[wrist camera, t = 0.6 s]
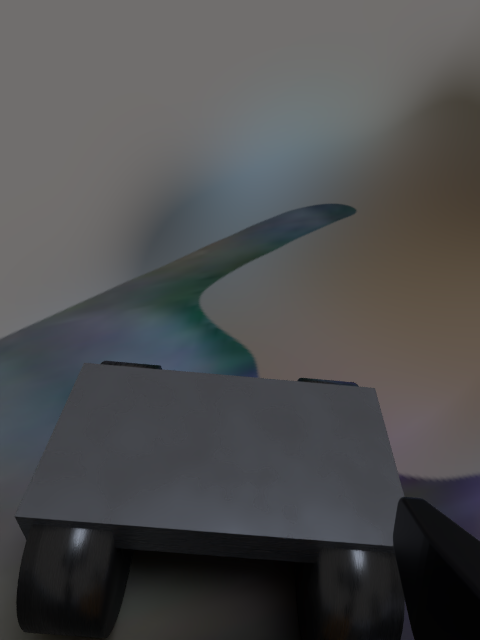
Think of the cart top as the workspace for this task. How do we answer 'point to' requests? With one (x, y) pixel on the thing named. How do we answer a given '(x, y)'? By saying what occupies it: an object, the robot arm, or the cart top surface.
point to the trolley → (213, 495)
